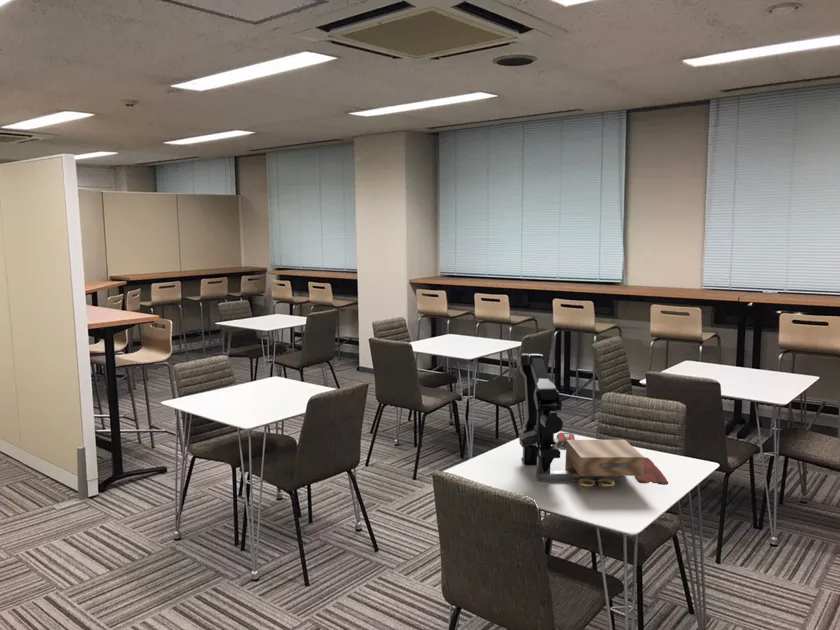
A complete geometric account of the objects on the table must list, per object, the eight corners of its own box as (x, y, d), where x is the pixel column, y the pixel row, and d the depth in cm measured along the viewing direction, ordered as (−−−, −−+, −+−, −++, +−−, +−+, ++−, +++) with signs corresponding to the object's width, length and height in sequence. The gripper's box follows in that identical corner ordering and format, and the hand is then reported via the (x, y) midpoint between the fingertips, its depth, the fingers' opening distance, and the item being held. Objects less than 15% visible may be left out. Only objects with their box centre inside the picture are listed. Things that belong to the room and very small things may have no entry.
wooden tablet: (669, 486, 215) (669, 481, 214) (638, 484, 216) (638, 480, 216) (651, 459, 241) (651, 455, 241) (623, 458, 242) (623, 453, 242)
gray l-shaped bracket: (538, 481, 217) (538, 458, 216) (536, 477, 220) (536, 455, 219) (616, 480, 217) (617, 457, 216) (613, 477, 220) (614, 454, 219)
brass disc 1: (581, 488, 211) (581, 484, 211) (576, 482, 216) (576, 478, 216) (596, 488, 211) (596, 484, 211) (591, 482, 216) (591, 478, 216)
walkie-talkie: (551, 438, 264) (552, 454, 245) (552, 427, 264) (552, 442, 244) (574, 440, 263) (576, 456, 243) (574, 429, 262) (576, 444, 243)
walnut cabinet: (580, 495, 205) (581, 458, 203) (565, 473, 224) (566, 439, 222) (643, 495, 206) (645, 458, 204) (623, 473, 224) (624, 439, 223)
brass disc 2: (601, 488, 211) (601, 484, 211) (596, 482, 216) (596, 478, 216) (616, 488, 212) (616, 483, 211) (611, 482, 217) (611, 478, 216)
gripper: (516, 416, 225) (515, 460, 227) (526, 432, 207) (525, 480, 208) (548, 416, 225) (547, 460, 227) (561, 432, 207) (559, 480, 209)
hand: (544, 470), depth 218 cm, fingers closed on gray l-shaped bracket, 2 cm apart
